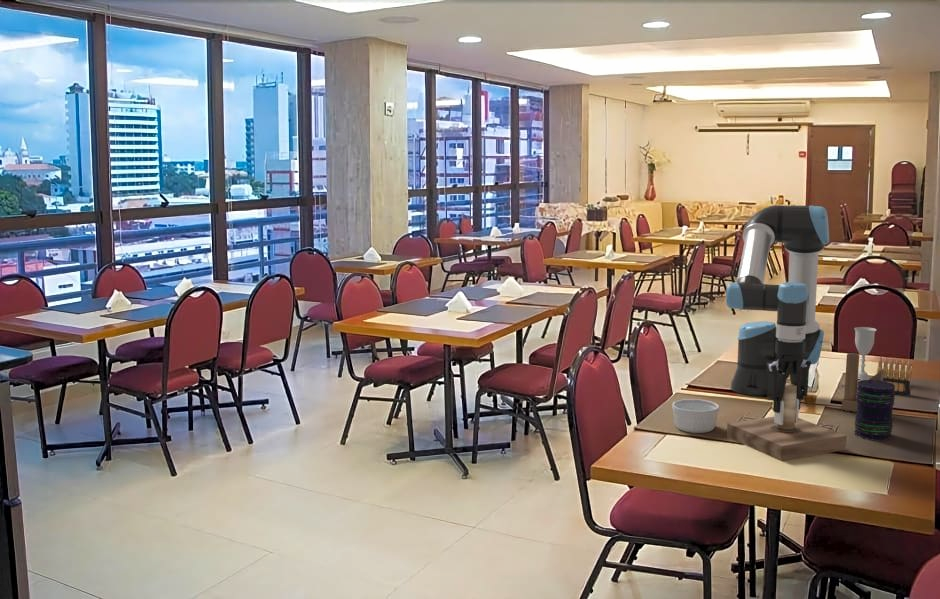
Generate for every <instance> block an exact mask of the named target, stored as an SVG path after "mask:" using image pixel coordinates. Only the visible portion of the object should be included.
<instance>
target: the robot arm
mask: <svg viewBox="0 0 940 599" xmlns="http://www.w3.org/2000/svg"><path fill="white" fill-rule="evenodd" d="M829 226H830V225H829V219H828V212H827V209H826V208H825V207H823V206H817V205H815V206H814V205H812V204H811V205H781V204H778V205H777V204H776V205H769V206H767V207H764V208H762V209H760V210H758V211H757V212H756V213H754V214H753V215H752V216H751V217H750V218H749V219H748V220H747V222H746V224H745V226H744V228H743V233H742V241H743V243H744V244H743V248H742V253H741V258H740V264H739V268H738V273H737V278H736V281H735V282H729V283H728V284H727V285H726V286H727V287H726V290H725V291H726V292H725V294H726V295H725V305H726V306H727V307H728V308H729V309H735V310H739V311H742V310H744V311H745V310H746V311H747V310H748V311H767V312H776V313H777V314H776V322H774V321H768V320H766V321H765V320H764V321H763V320H762V321H754V322H753V321H751V322H748V323H747V322H746V323H744V324H742V325H741V326H740V327H739V331H738V337H737V340H738V343H737V345H738V346H737V362H736V363H737V365H736V369H735V372H734V375H733V378H732V380H731V383H730V390H731V389H732V391H733V392H734V393H737V394H741V395H746V396H747V395H749V396H760V397H761V396H764V395H766V396H767V398H768V399H769V400H772V402H773V404H772V410H773V412H774V416H773V417H774V423H777V424H779V425H783V416H784V401H782V397H783V393H784V389H785V385H786V383H787V380H788V378H789V377H790V384H794V385H797V394H796V412H795V423H798V418H799V412H800V410H801V403H802V402H801V401H803V400H804V399H805V397H807V396H808V389H809V378H810V377H809V376H810V374H809V373H810V368H811V365H816V364H817V363H818V362H819V360H820V357H821V352H822V347H823V342H824V335H825V331H824V329H823V330H822V329H821V327H820V323H818V321H817V320H816V307H817V305H816V304H817V288H818V287H817V286H818V284H817V283H818V266H819V264H818V263H819V254H820V253H821V252H822V251H823V250H824V249H825V248H824V247H825V245H827V244H829V243H830V230H829V229H830V228H829ZM774 243H784V249H785V251H786V252H788V253H789V255H788V256H789V258H788V259H789V260H788V261H789V262H788V281H785V282H781V283H780V284H765V283H764V282H765V277H766V270H767V265H768V259H769V252H770V247H771V246H773V244H774Z"/></svg>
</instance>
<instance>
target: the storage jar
mask: <svg viewBox="0 0 940 599" xmlns="http://www.w3.org/2000/svg"><path fill="white" fill-rule="evenodd" d="M894 389H895V385H894V384H892V383H889V382H884V381H877V380H858V384H857V398H856V400H857V413H855V420H854V429H855V430H854V432H855V434H856V435H857V436H856V435H855V434H854V435H855V436H856V437H858V436H860V437H863V438H862V439H864V438H868V439H873V440H872V441H877V440H883V441H888V440H887V439H889V440H891V439H892V431H893V422H894V421H893V420H894V419H893V409H894V407H893V406H894V405H895V399H896V398H895V397H896V394H895V391H894ZM860 437H859V438H860ZM890 438H891V439H890ZM868 439H867V440H868Z"/></svg>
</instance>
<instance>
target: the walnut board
mask: <svg viewBox="0 0 940 599" xmlns="http://www.w3.org/2000/svg"><path fill="white" fill-rule="evenodd" d="M726 438H729V439H731V440H734V441H736V442H737V443H740V444H742V445H745V446H747V447H749V448H752V449H754V450H756V451H758V452H760V453H763V454H765V455H766V456H767V455H768V456H769V457H771V458H774V459H776V460H779V461H781V462H782V461H787V460H788V461H789V460H794V459H798V458H804V457H811V456H817V455H823V454H831V453H835V452H842V450H843V451H846V450H847V449H846V446H847V435H845V434H843V433H840V432H837V431H834V430H833V429H832V430H831V429H830V428H826V427H824V426H821V425H818V424H816V423H813V422H811V421H808V420H805V419H802V418H800V417H798V423H795V430H794V431H793V432H783V431H779V430H777V423H774V416H767V417H762V418H755V419H749V420H747V419H746V420H740V421H733V422H727V428H726Z"/></svg>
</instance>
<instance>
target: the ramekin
mask: <svg viewBox="0 0 940 599" xmlns="http://www.w3.org/2000/svg"><path fill="white" fill-rule="evenodd" d="M671 404H672V406H671V407H672V410H673V411H672V412H673V422H674V423H673V424H674V426H676V428H677V429H678V430H680V431H683V432H687V433H693V434H694V433H695V434H699V433H701V434H703V433H709V432H711V431H713V430H714V429H715V427H716V425H717V420H718V413H719V410H720V406H719V404H717V403H715V402H714V401H710V400H706V399H697V398H687V399H686V398H685V399H679V400H676V401H674V402H672V403H671Z"/></svg>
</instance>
